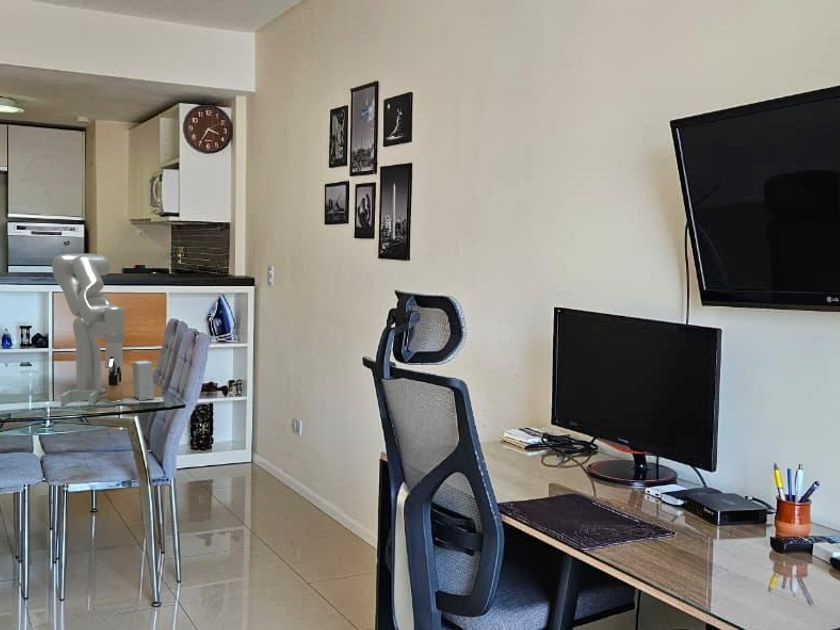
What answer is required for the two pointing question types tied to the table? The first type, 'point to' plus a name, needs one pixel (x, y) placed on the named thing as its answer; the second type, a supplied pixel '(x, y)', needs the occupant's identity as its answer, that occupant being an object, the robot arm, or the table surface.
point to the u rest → (80, 396)
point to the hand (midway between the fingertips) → (115, 383)
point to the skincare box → (143, 380)
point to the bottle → (115, 391)
